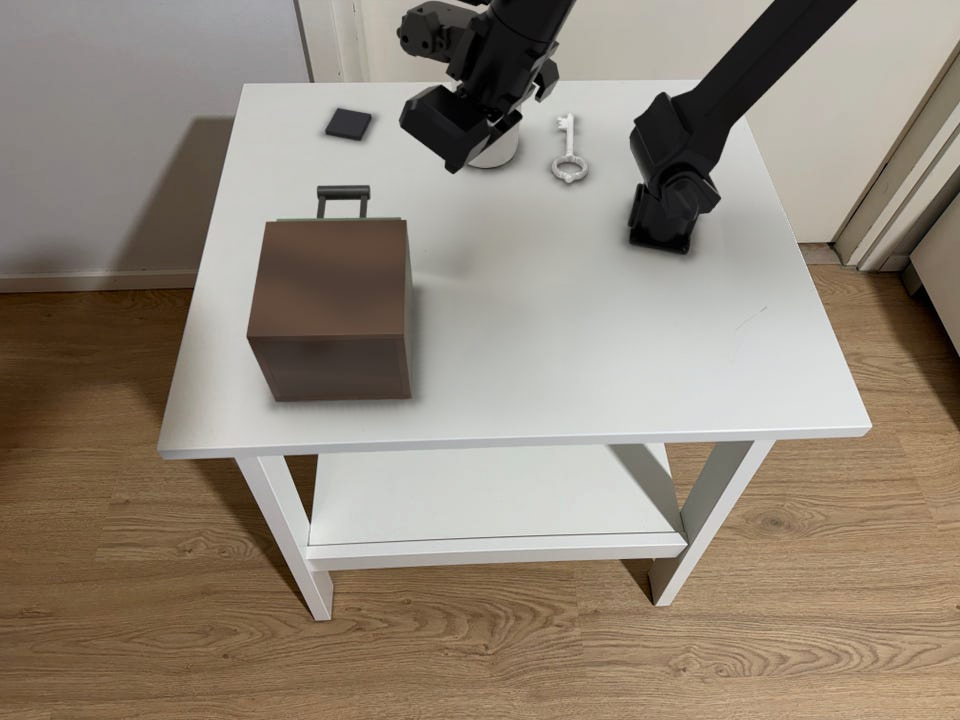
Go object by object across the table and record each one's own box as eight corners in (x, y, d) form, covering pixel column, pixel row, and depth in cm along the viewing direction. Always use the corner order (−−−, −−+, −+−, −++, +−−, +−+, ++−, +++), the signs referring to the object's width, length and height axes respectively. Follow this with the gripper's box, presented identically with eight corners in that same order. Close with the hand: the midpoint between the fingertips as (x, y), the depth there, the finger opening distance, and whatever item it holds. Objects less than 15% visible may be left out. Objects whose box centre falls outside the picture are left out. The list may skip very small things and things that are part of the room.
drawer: (300, 241, 75) (282, 178, 67) (408, 240, 75) (402, 177, 68) (282, 375, 66) (259, 319, 58) (405, 372, 66) (397, 317, 59)
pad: (371, 117, 87) (371, 113, 87) (360, 140, 85) (359, 136, 84) (338, 111, 88) (337, 107, 87) (325, 134, 85) (324, 130, 85)
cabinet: (290, 294, 72) (265, 221, 63) (413, 292, 72) (406, 219, 63) (275, 401, 65) (245, 336, 56) (411, 398, 66) (403, 333, 57)
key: (550, 183, 81) (587, 185, 81) (551, 177, 80) (588, 179, 80) (553, 116, 88) (587, 118, 88) (554, 110, 87) (588, 112, 87)
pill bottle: (512, 174, 82) (521, 59, 70) (445, 164, 83) (441, 48, 70) (523, 130, 86) (533, 14, 74) (459, 121, 87) (458, 4, 74)
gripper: (494, -65, 60) (432, 86, 72) (373, -17, 48) (321, 157, 59) (598, 12, 60) (518, 151, 72) (504, 80, 48) (425, 236, 59)
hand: (450, 170), depth 66 cm, fingers closed
